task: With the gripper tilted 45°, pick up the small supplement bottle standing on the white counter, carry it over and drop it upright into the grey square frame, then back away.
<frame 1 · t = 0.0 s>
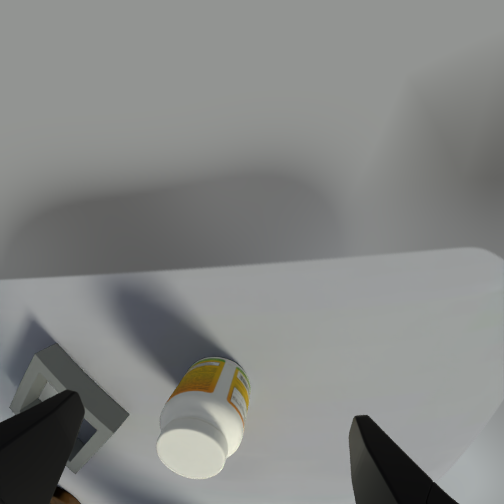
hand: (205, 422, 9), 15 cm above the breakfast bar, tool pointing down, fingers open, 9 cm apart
grey square frame: (72, 405, 26), on the breakfast bar
supplement bottle: (218, 384, 25), on the breakfast bar
brown chess piece: (65, 500, 28), on the breakfast bar
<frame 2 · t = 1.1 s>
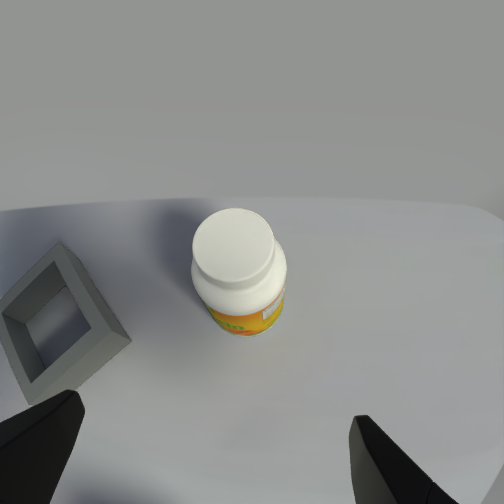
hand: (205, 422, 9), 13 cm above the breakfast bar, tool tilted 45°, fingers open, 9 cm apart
grey square frame: (63, 331, 24), on the breakfast bar
supplement bottle: (247, 303, 24), on the breakfast bar
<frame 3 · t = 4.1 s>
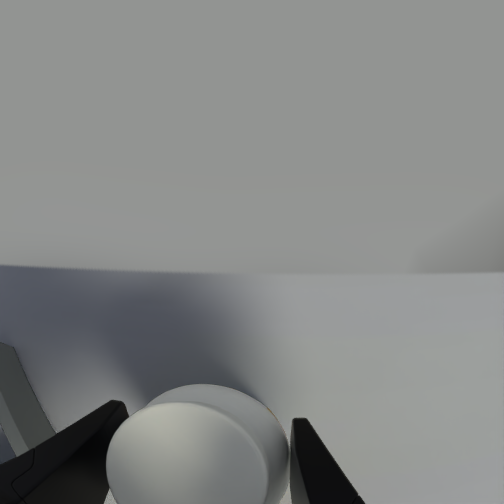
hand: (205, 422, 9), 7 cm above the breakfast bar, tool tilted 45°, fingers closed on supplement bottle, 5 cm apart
grey square frame: (3, 438, 14), on the breakfast bar
supplement bottle: (231, 442, 15), on the breakfast bar, touching gripper
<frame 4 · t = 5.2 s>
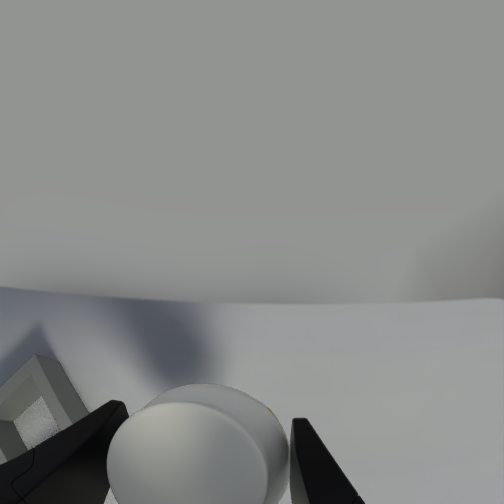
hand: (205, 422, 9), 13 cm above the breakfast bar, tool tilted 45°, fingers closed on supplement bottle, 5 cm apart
grey square frame: (52, 437, 19), on the breakfast bar
supplement bottle: (231, 441, 15), point 6 cm above the breakfast bar, touching gripper
when the fingers open (13 cm above the breakfast bar, at t = 6.5 s): supplement bottle drops 6 cm, resting in grey square frame.
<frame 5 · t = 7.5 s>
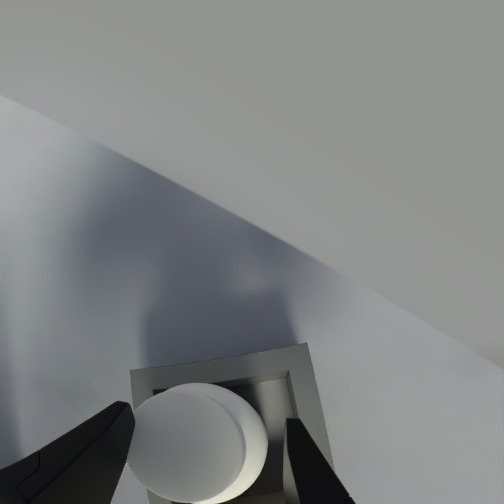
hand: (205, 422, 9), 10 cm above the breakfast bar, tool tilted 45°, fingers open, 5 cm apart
grey square frame: (237, 443, 17), on the breakfast bar
supplement bottle: (223, 439, 17), resting in grey square frame, touching gripper
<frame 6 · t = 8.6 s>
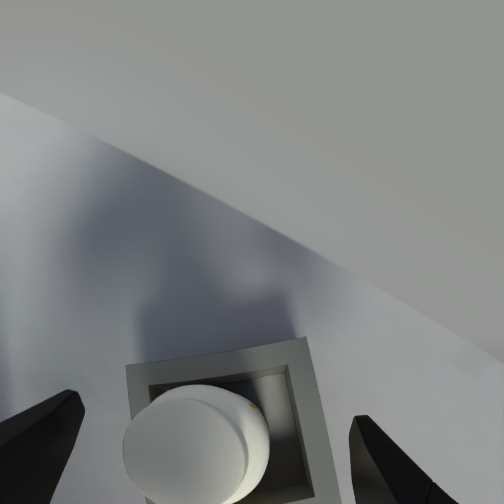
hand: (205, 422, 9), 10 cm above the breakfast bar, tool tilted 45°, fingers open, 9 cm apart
grey square frame: (235, 439, 17), on the breakfast bar
supplement bottle: (223, 434, 17), resting in grey square frame
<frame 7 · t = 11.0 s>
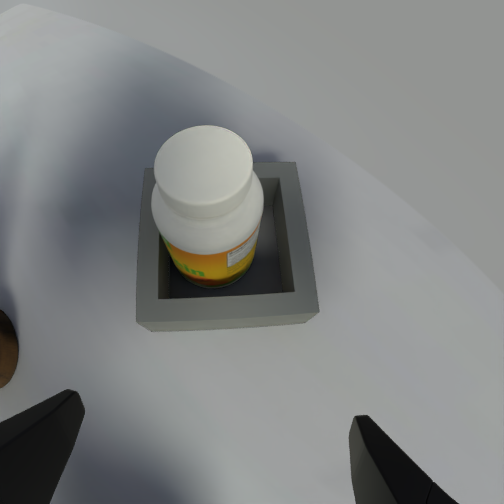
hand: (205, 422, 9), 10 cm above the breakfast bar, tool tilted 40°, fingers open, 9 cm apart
grey square frame: (223, 255, 21), on the breakfast bar
supplement bottle: (213, 251, 22), resting in grey square frame
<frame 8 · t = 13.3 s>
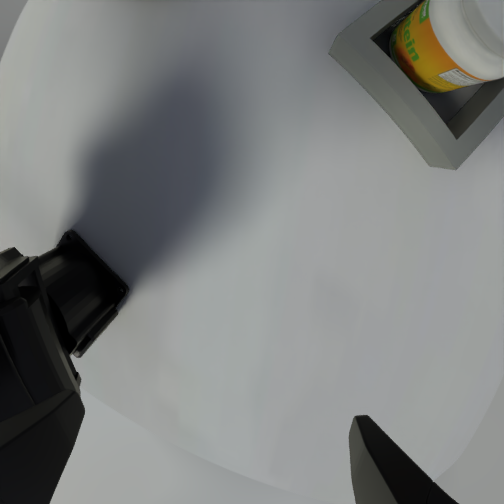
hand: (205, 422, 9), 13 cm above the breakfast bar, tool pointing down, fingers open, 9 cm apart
grey square frame: (427, 67, 16), on the breakfast bar
supplement bottle: (422, 57, 16), resting in grey square frame
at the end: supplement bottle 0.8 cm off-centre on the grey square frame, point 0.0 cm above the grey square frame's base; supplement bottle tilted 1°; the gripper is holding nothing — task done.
